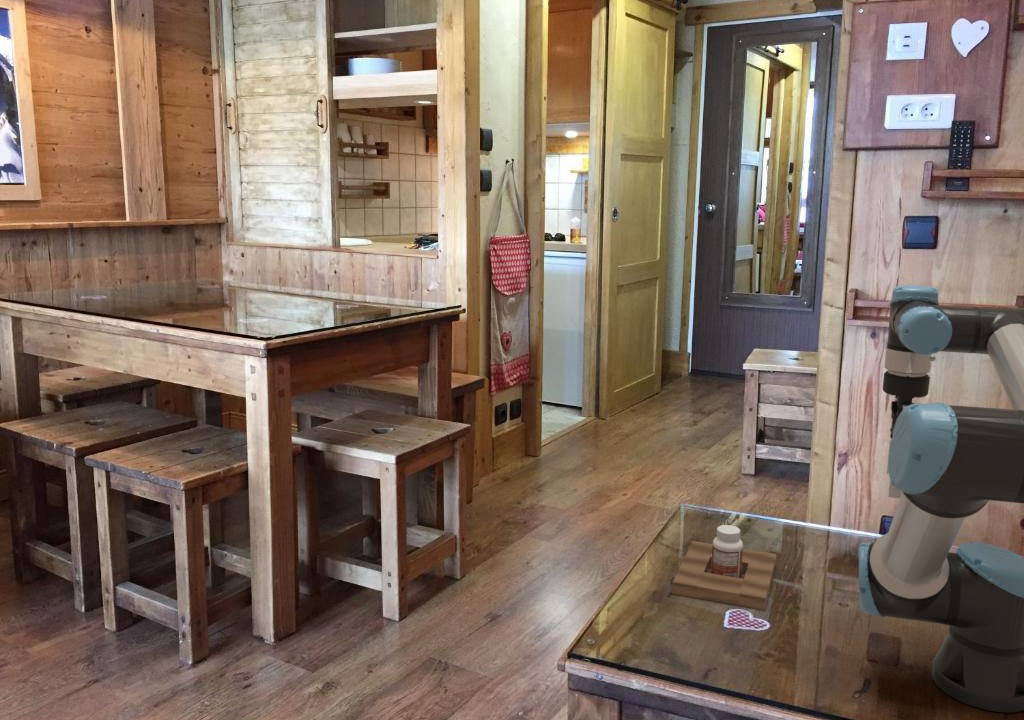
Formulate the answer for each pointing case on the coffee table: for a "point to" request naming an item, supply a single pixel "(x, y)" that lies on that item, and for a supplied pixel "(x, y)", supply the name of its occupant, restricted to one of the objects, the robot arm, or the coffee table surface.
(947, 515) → the robot arm
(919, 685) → the coffee table surface
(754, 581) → the square wooden frame
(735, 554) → the pill bottle
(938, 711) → the coffee table surface
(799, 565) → the coffee table surface
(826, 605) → the coffee table surface
